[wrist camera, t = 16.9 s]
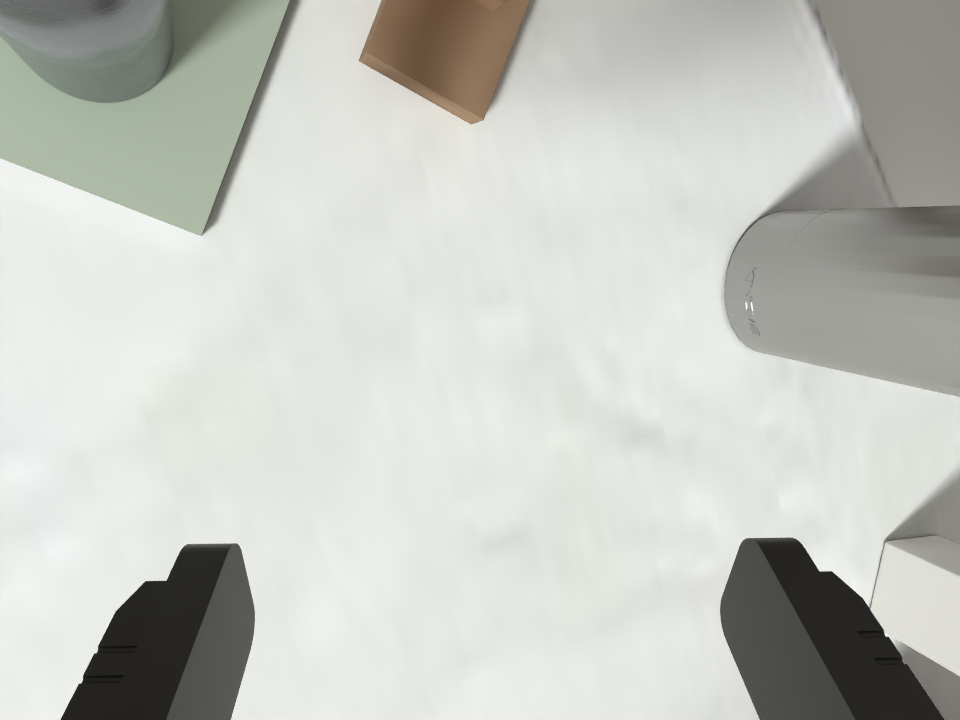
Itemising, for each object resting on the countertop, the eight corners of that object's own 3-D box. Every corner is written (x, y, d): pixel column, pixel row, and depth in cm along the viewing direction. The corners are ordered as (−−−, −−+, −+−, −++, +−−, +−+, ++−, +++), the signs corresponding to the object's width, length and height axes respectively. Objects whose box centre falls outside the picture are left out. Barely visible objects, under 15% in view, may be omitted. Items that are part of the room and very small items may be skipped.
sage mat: (300, -28, 27) (303, -35, 26) (201, 235, 27) (201, 236, 27) (-37, -231, 22) (-45, -247, 21) (-154, 98, 22) (-166, 93, 22)
